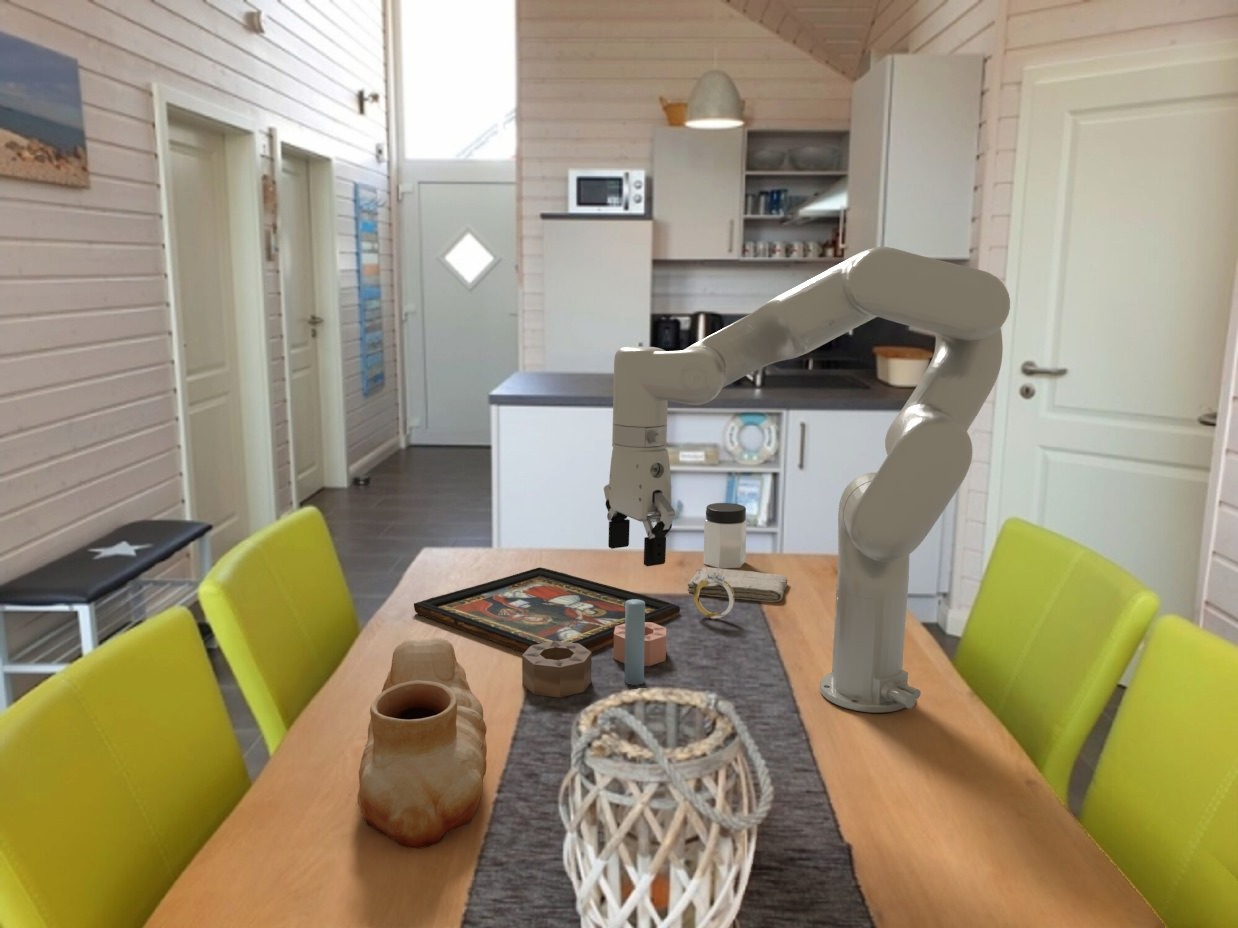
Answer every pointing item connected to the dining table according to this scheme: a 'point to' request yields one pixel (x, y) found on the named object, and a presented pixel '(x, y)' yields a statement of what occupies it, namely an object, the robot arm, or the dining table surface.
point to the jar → (725, 535)
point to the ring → (714, 579)
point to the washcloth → (742, 584)
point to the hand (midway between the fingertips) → (636, 555)
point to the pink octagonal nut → (652, 643)
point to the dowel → (634, 641)
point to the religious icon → (541, 610)
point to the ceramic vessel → (423, 747)
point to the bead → (556, 669)
